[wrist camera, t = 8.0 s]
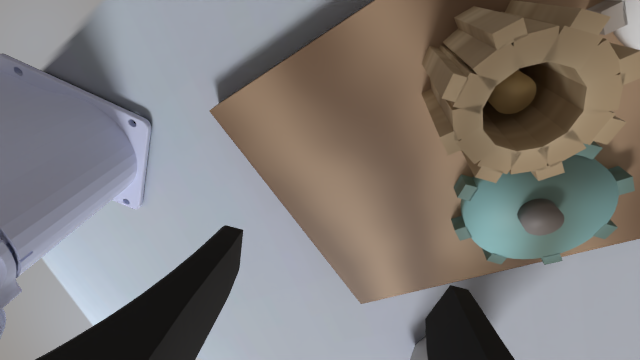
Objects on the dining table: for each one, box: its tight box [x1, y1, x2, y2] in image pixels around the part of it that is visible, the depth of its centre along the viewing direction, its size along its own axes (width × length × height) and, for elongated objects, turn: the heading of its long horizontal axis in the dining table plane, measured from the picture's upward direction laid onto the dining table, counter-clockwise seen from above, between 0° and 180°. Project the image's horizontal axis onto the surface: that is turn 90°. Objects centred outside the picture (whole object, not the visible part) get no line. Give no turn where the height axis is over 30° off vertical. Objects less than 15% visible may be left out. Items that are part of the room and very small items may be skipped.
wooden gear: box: [422, 0, 640, 183], centre depth 12 cm, size 6×6×5 cm
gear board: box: [210, 0, 640, 304], centre depth 14 cm, size 26×18×5 cm
